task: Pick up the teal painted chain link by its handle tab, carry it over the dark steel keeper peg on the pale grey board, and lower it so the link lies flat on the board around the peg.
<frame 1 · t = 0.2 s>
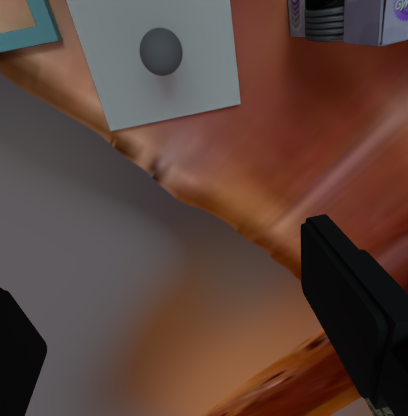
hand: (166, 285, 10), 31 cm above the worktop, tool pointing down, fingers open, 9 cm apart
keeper: (160, 47, 33), on the worktop
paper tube: (361, 365, 72), on the worktop
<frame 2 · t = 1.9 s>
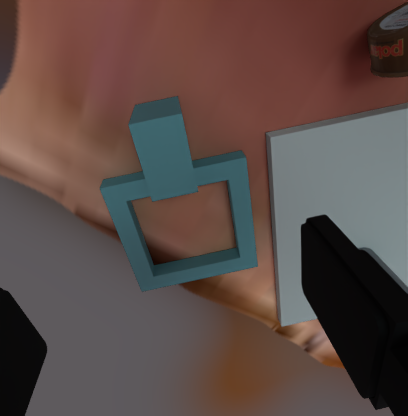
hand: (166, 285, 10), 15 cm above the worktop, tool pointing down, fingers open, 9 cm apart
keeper: (351, 253, 31), on the worktop
link: (186, 222, 26), on the worktop
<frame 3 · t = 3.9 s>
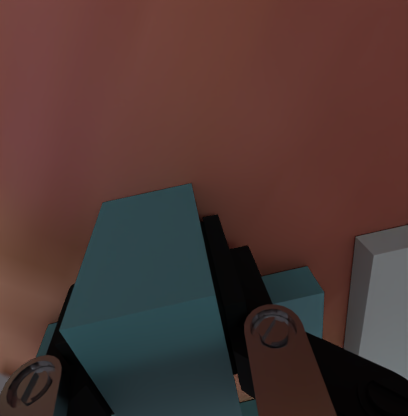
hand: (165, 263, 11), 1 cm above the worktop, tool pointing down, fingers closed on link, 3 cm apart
link: (202, 369, 15), on the worktop, touching gripper
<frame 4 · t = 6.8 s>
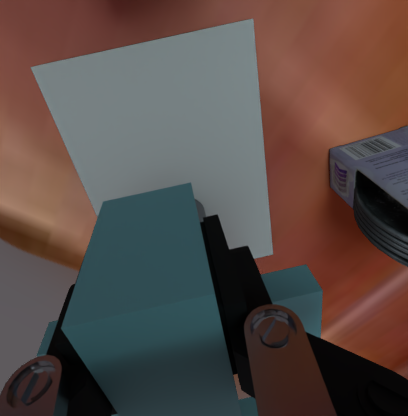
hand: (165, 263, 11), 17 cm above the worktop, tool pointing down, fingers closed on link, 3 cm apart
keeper: (185, 207, 30), on the worktop
link: (201, 366, 15), point 16 cm above the worktop, touching gripper
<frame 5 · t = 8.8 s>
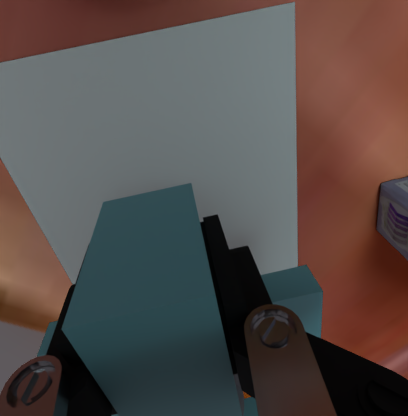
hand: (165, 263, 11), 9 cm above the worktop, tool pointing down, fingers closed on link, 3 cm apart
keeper: (187, 257, 22), on the worktop
link: (202, 367, 15), point 8 cm above the worktop, touching gripper
when the fingers open (3 cm above the worktop, at t = 10.1 s): link drops 1 cm, resting on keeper.
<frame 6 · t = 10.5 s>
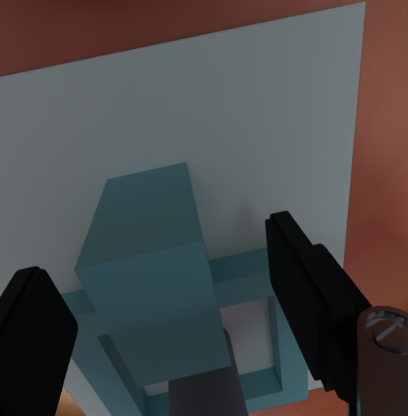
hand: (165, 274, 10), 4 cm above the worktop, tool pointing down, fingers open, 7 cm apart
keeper: (196, 325, 18), on the worktop
link: (199, 341, 16), point 1 cm above the worktop, touching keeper
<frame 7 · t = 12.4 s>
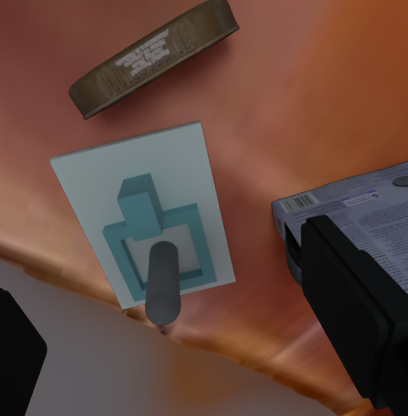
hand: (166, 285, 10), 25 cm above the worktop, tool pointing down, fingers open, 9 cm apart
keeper: (164, 247, 39), on the worktop
tin: (154, 60, 29), on the worktop
link: (163, 251, 37), point 1 cm above the worktop, touching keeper
cake pan box: (336, 196, 38), on the worktop
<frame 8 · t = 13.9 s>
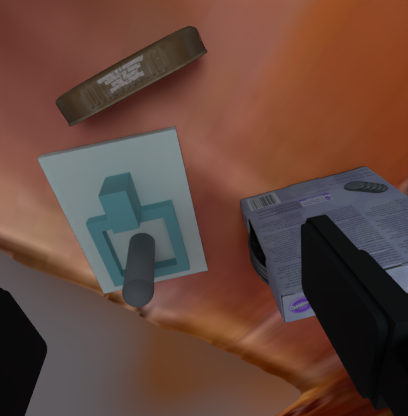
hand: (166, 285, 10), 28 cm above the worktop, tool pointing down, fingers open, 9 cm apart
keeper: (142, 238, 43), on the worktop
tin: (133, 71, 32), on the worktop
link: (142, 242, 41), point 1 cm above the worktop, touching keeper
cake pan box: (298, 196, 43), on the worktop
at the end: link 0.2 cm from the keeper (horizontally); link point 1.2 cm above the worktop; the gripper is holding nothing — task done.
